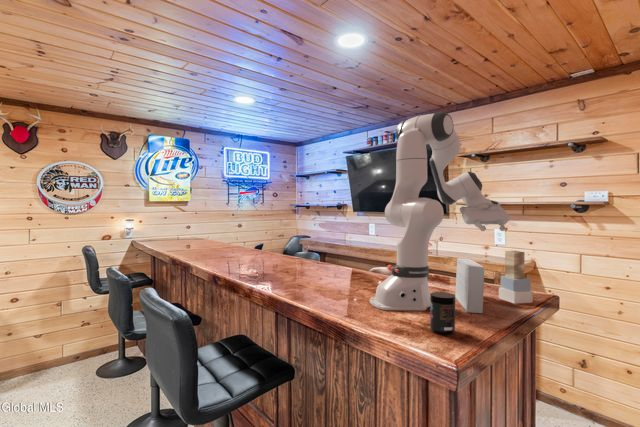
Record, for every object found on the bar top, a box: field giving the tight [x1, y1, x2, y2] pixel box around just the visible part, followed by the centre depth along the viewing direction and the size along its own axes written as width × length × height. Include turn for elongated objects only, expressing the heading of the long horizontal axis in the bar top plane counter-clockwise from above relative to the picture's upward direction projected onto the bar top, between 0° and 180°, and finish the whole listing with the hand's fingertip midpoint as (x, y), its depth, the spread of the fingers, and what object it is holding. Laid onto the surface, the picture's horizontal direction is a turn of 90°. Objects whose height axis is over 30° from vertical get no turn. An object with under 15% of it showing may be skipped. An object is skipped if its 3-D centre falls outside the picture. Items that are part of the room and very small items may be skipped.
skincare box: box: [454, 257, 485, 314], centre depth 122 cm, size 21×5×16 cm, turn 168°
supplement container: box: [429, 291, 456, 336], centre depth 95 cm, size 7×7×10 cm
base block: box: [498, 286, 534, 305], centre depth 129 cm, size 8×8×4 cm
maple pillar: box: [504, 250, 526, 279], centre depth 129 cm, size 5×5×10 cm
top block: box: [500, 275, 531, 292], centre depth 129 cm, size 7×7×4 cm
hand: (493, 230), depth 141 cm, fingers open, 8 cm apart
